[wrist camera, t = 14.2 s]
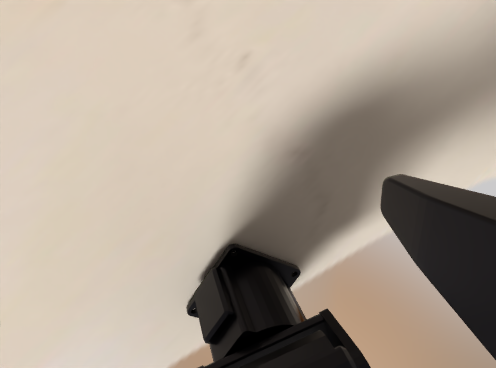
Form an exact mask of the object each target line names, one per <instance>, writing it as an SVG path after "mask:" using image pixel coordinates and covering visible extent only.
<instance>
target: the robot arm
mask: <svg viewBox="0 0 496 368" xmlns="http://www.w3.org/2000/svg"><path fill="white" fill-rule="evenodd" d="M381 212H382V214H383V216H384V218H385V219H386V221H387V222H388V224H389V225H390V227H391V228H392V230H393V231H394V233H395V234H396V236H397V237H398V239H399V240H400V242H401V243H402V245H403V246H404V247H405V249H406V250H407V252H408V254H409V255H410V256H411V258H412V259H413V261H414V262H415V263H416V265H417V266H418V267H419V268H420V270H421V271H422V272H423V273H424V275H425V276H426V277H427V278H428V279H429V281H430V282H431V283H432V284H433V285H434V287H435V288H436V289H437V290H438V291H439V293H440V294H441V295H442V296H443V297H444V299H445V300H446V301H447V302H448V303H449V305H450V306H451V307H452V308H453V309H454V311H455V312H456V313H457V314H458V316H459V317H460V318H461V319H462V320H463V321H464V323H465V324H466V325H467V326H468V328H469V329H470V330H471V331H472V332H473V333H474V335H475V336H476V337H477V338H478V339H479V341H480V342H481V343H482V344H483V346H484V347H485V348H486V349H487V350H488V352H489V353H490V354H491V355H492V356H493V357H494V359H495V360H496V197H494V196H490V195H486V194H482V193H477V192H473V191H469V190H465V189H461V188H457V187H453V186H448V185H444V184H440V183H436V182H432V181H428V180H424V179H419V178H415V177H411V176H407V175H403V174H399V175H395V176H391V177H387V178H386V179H385V180H384V181H383V186H382V196H381ZM234 250H236V251H235V252H234V253H231V252H232V251H234ZM293 272H294V273H293ZM300 273H301V272H300V270H299V268H298V267H297V266H296V265H293V264H290V263H287V262H285V261H282V260H279V259H276V258H273V257H271V256H268V255H265V254H262V253H260V252H257V251H254V250H251V249H249V248H246V247H243V246H240V245H237V244H231V245H229V246H228V247H227V249H226V250H225V251H224V253H223V254H222V256H221V257H220V259H219V260H218V262H217V263H216V265H215V266H214V267H213V268H212V269H211V270H210V271H209V273H208V274H207V276H206V277H205V279H204V280H203V282H202V283H201V284H200V286H199V287H198V289H197V290H196V292H195V293H194V297H193V298H192V299H191V301H190V302H189V304H188V305H187V313H188V315H190V316H193V317H198V318H199V321H200V325H201V330H202V334H203V339H204V341H205V343H208V344H210V349H211V353H212V357H213V361H214V362H213V363H211V364H209V365H207V366H205V367H204V366H201V367H198V368H371V367H370V366H369V364H368V362H367V361H366V359H365V357H364V356H363V354H362V353H361V351H360V350H359V349H358V347H357V346H356V345H355V343H354V342H353V341H352V339H351V338H350V337H349V336H348V334H347V333H346V332H345V330H344V329H343V328H342V327H341V325H340V324H339V323H338V321H337V320H336V319H335V318H334V316H333V315H332V314H331V312H330V311H329V310H328V309H325V310H323V311H321V312H319V313H320V314H318V315H316V316H314V317H312V318H309V319H306V318H305V316H304V314H303V312H302V310H301V308H300V306H299V304H298V302H297V301H296V299H295V297H294V295H293V293H292V291H291V289H290V287H291V286H292V285H293V283H294V282H295V281H296V279H297V278H298V277H299V275H300ZM194 308H196V309H194Z"/></svg>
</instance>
